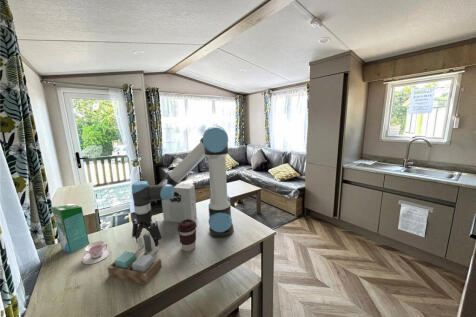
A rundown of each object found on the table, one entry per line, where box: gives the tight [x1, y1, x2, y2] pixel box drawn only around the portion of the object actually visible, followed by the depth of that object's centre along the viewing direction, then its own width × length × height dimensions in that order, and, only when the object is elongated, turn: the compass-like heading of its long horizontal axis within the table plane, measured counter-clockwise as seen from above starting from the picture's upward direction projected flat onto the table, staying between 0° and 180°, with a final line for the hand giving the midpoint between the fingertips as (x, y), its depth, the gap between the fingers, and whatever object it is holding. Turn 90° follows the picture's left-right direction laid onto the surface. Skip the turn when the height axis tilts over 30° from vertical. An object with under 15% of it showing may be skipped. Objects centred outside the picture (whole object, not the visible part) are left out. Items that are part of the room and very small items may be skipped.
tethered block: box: [114, 232, 153, 269], centre depth 94 cm, size 6×19×9 cm, turn 165°
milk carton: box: [51, 203, 90, 254], centre depth 104 cm, size 9×9×25 cm
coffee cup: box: [177, 219, 198, 252], centre depth 102 cm, size 10×10×15 cm
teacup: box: [82, 240, 112, 265], centre depth 98 cm, size 12×12×6 cm
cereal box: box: [161, 183, 198, 223], centre depth 130 cm, size 22×8×25 cm, turn 77°
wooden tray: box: [107, 258, 162, 285], centre depth 87 cm, size 20×10×4 cm, turn 75°
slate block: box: [132, 254, 155, 273], centre depth 85 cm, size 6×6×7 cm
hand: (148, 249), depth 102 cm, fingers open, 9 cm apart
